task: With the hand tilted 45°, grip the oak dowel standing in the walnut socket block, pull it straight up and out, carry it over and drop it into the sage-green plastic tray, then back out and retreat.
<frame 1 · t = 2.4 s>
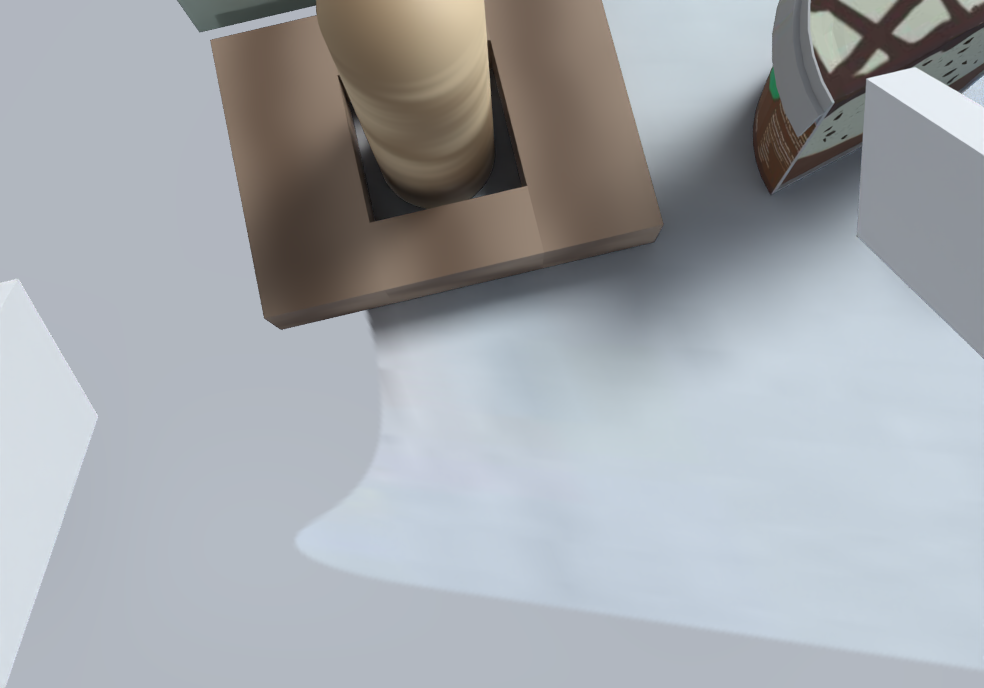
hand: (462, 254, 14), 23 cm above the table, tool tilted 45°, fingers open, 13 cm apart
food container: (826, 86, 39), on the table
dowel: (421, 91, 33), in the dowel block
dowel block: (436, 153, 38), on the table
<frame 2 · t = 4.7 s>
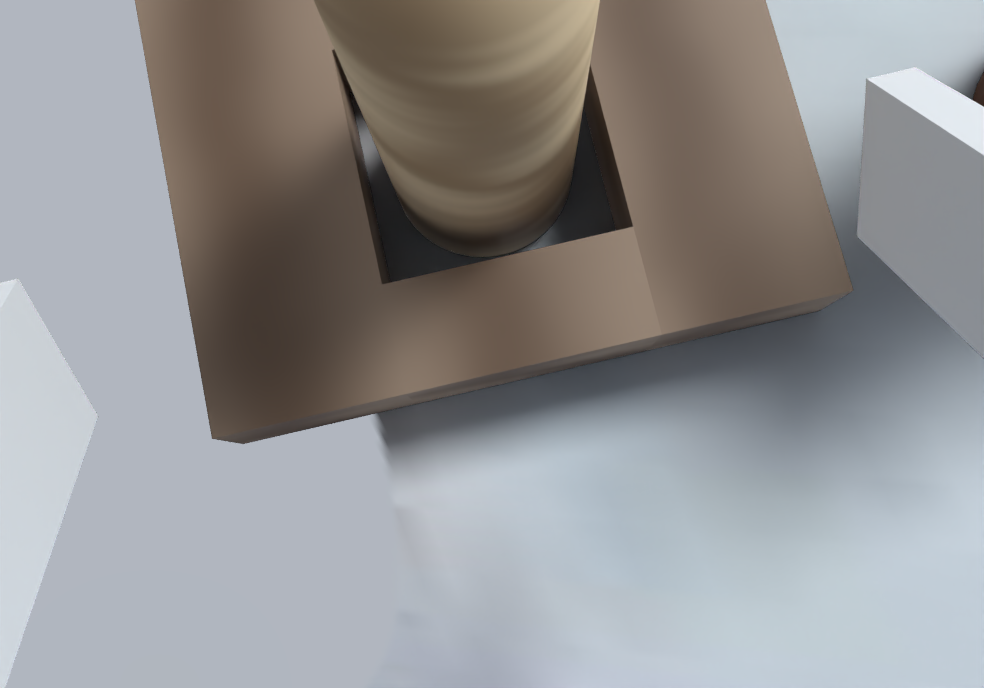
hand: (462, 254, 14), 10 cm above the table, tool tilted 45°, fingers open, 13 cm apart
dowel: (470, 73, 19), in the dowel block
dowel block: (483, 170, 25), on the table
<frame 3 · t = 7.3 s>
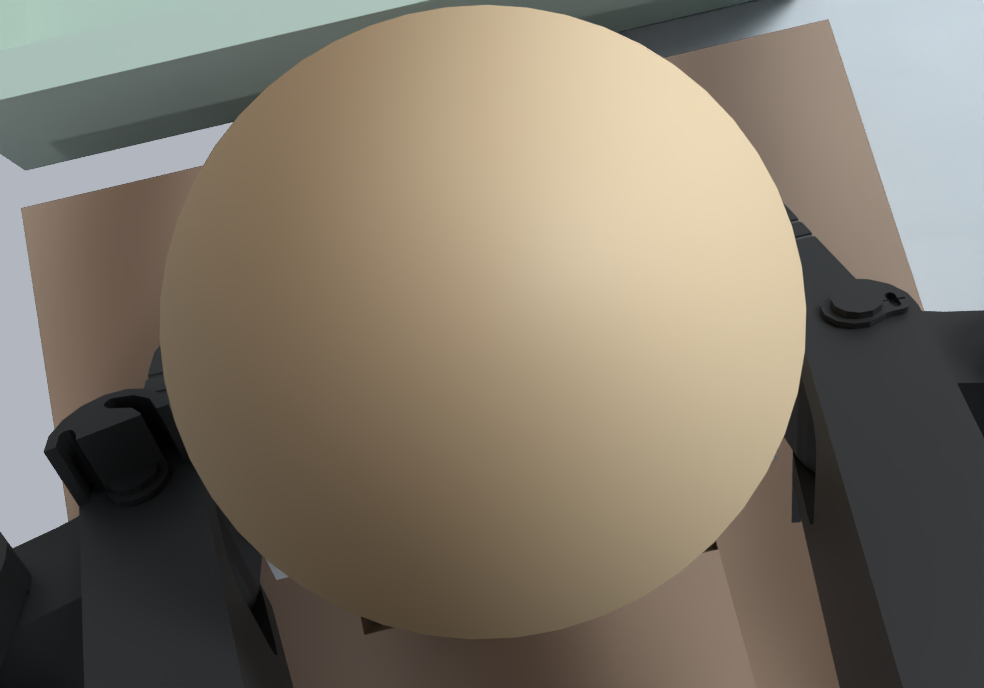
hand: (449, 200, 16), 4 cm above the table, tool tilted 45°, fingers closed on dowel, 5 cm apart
dowel: (496, 392, 13), in the dowel block, touching gripper
dowel block: (501, 425, 19), on the table
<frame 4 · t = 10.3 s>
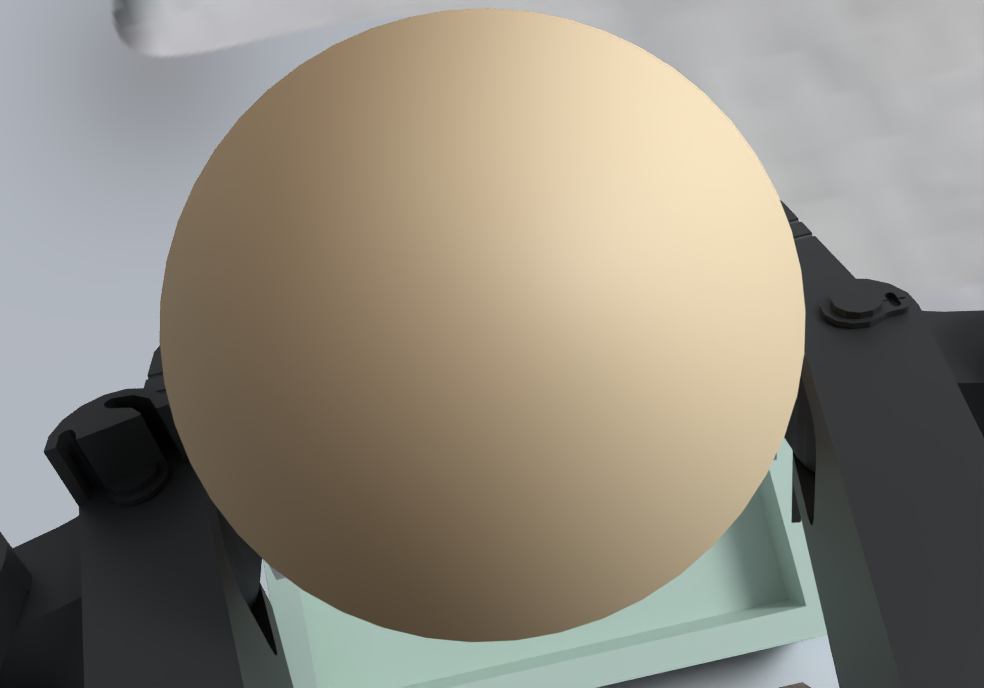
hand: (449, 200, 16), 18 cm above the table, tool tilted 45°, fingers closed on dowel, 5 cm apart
tray: (510, 425, 33), on the table
dowel: (496, 394, 13), point 20 cm above the table, touching gripper
when the fingers open (6 cm above the table, at t = 13.4 s): dowel drops 1 cm, resting on tray.
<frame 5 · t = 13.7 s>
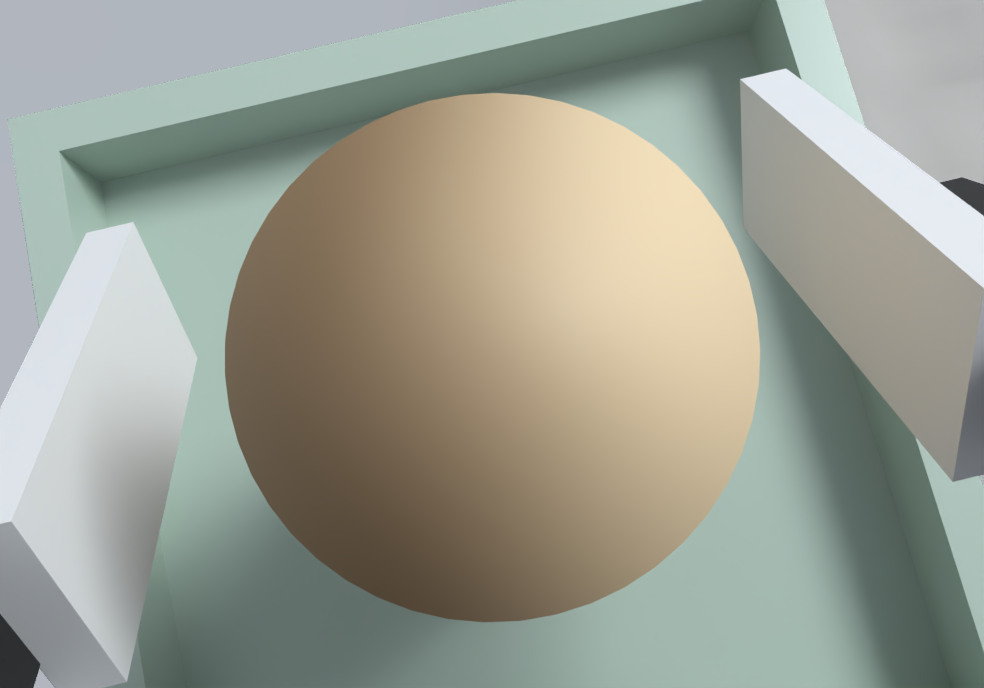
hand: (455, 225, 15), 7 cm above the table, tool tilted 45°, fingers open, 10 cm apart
tray: (504, 433, 21), on the table
dowel: (501, 406, 14), in the tray, point 7 cm above the table
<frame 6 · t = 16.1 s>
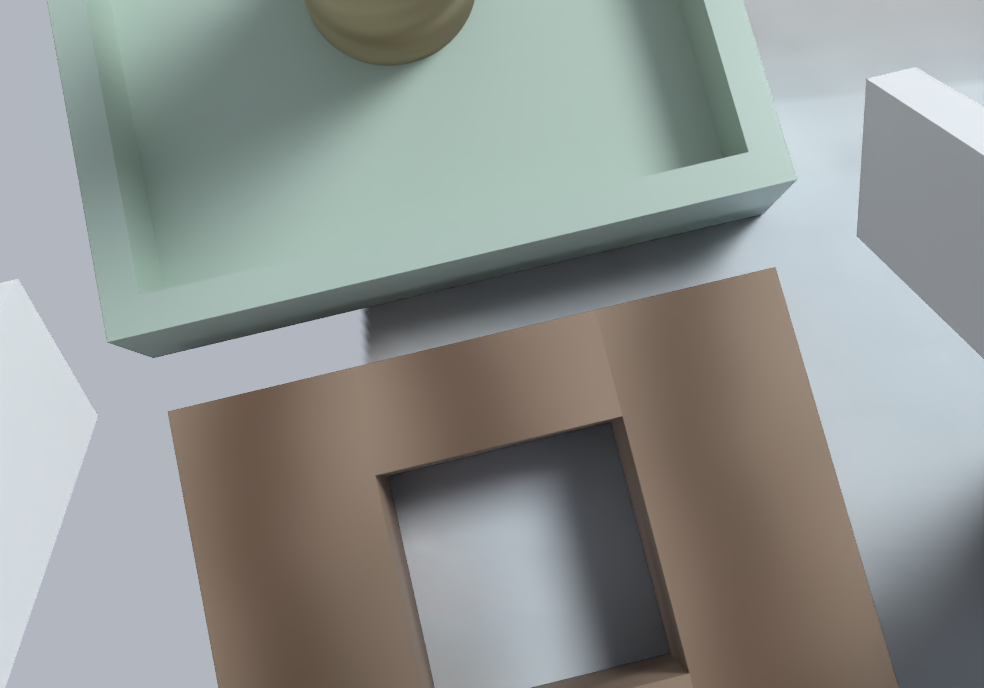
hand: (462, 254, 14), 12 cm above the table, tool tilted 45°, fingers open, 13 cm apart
tray: (393, 1, 27), on the table
dowel block: (527, 563, 25), on the table
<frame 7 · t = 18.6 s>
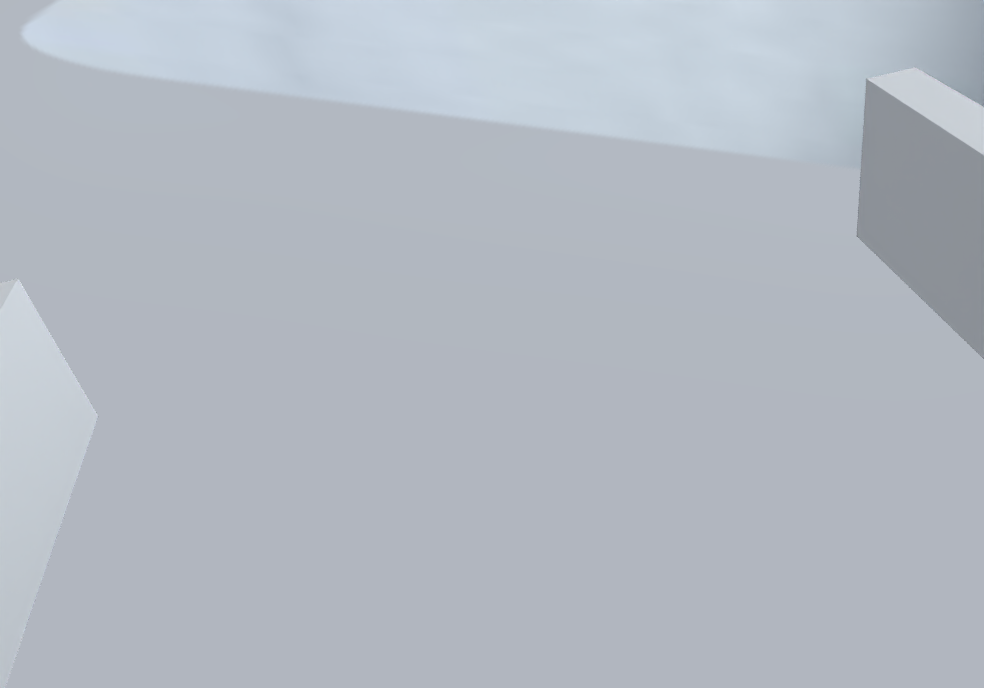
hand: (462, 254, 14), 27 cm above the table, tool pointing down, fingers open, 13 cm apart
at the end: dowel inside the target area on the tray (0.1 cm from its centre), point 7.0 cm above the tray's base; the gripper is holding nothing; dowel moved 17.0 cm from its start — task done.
